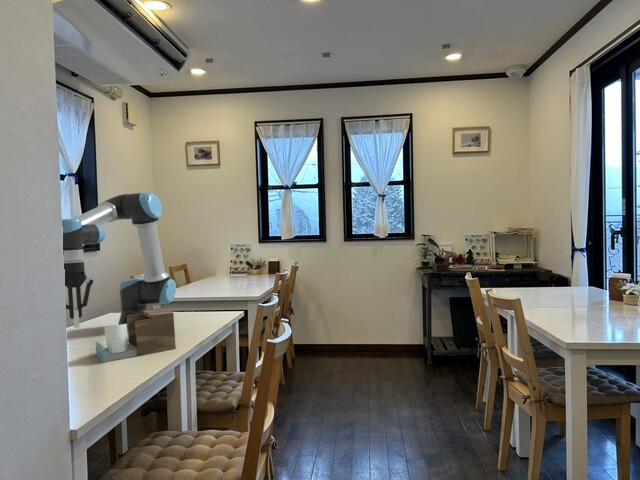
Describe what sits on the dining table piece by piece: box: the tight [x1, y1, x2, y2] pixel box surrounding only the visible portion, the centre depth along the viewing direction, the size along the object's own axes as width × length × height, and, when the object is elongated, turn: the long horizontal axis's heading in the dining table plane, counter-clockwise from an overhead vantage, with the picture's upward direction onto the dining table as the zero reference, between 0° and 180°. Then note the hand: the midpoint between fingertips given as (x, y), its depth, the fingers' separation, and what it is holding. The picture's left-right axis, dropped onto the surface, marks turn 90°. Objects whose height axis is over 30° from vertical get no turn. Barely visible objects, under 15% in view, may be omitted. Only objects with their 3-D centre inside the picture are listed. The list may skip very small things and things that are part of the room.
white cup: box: [103, 324, 129, 354], centre depth 171 cm, size 8×8×10 cm
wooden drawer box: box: [127, 307, 177, 357], centre depth 179 cm, size 15×14×14 cm
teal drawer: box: [95, 341, 138, 364], centre depth 173 cm, size 14×13×5 cm
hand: (76, 327), depth 164 cm, fingers closed
